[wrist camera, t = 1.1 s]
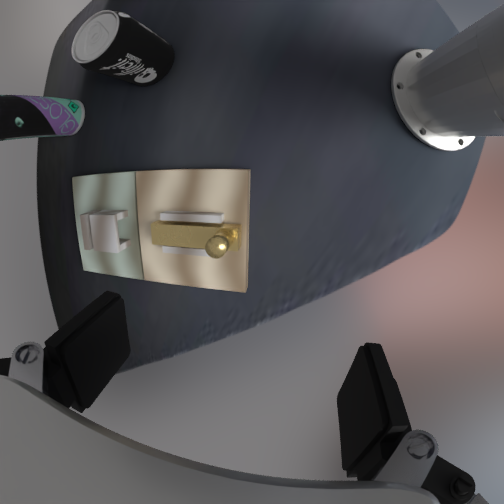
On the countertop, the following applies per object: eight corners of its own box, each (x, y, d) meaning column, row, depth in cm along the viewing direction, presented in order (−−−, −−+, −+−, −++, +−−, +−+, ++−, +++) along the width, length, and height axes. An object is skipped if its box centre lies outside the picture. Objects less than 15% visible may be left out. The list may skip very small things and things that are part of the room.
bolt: (241, 224, 29) (231, 237, 25) (241, 246, 30) (230, 262, 26) (157, 220, 31) (136, 231, 26) (159, 239, 32) (138, 253, 27)
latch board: (250, 169, 29) (242, 171, 25) (247, 286, 34) (240, 305, 29) (79, 176, 33) (57, 180, 28) (89, 266, 37) (71, 278, 33)
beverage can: (138, 96, 28) (72, 80, 17) (127, 58, 26) (65, 35, 15) (183, 71, 26) (127, 38, 15) (169, 33, 24) (116, -6, 13)
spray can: (87, 126, 30) (-36, 133, 11) (63, 141, 31) (-49, 156, 13) (83, 93, 28) (-33, 86, 10) (60, 110, 30) (-48, 113, 11)
